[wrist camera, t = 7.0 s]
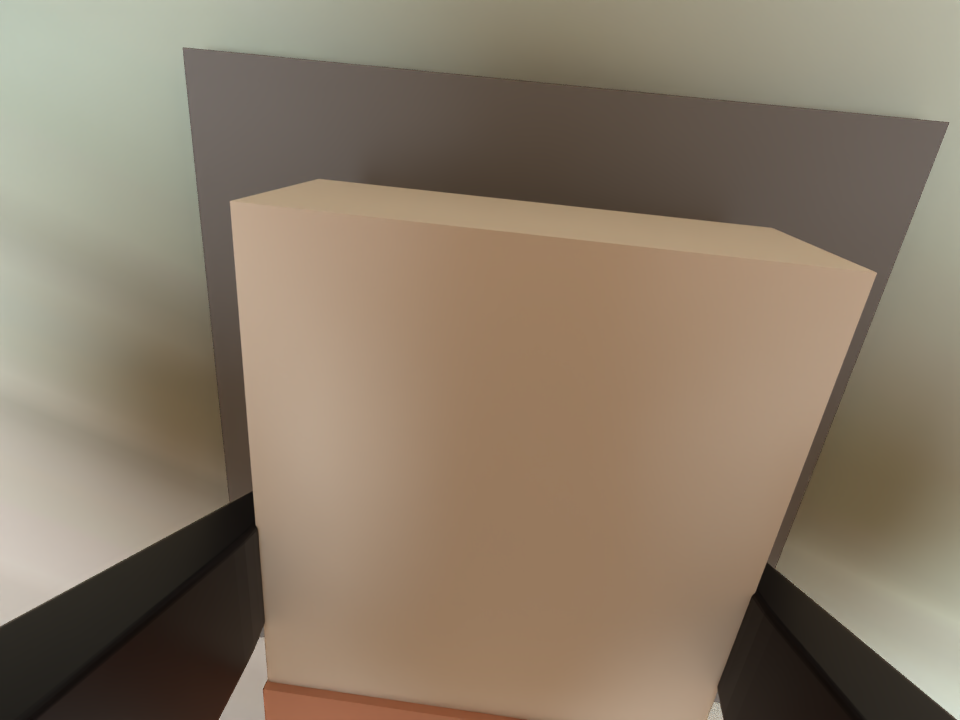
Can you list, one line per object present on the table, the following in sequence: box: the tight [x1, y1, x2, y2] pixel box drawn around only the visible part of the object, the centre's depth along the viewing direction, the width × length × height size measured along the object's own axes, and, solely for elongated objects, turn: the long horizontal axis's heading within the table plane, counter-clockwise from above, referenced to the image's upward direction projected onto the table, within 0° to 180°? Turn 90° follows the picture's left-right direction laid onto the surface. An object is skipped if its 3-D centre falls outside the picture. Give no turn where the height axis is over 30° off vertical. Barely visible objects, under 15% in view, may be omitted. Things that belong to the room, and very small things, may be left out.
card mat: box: [183, 48, 949, 703], centre depth 11 cm, size 12×11×1 cm
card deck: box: [230, 179, 877, 720], centre depth 8 cm, size 6×9×2 cm, turn 175°
